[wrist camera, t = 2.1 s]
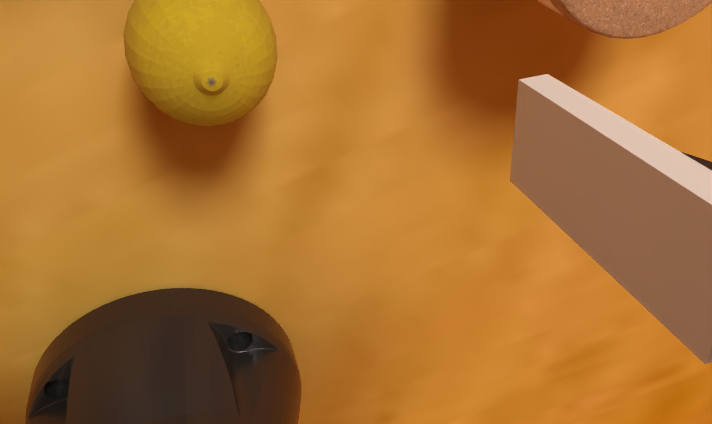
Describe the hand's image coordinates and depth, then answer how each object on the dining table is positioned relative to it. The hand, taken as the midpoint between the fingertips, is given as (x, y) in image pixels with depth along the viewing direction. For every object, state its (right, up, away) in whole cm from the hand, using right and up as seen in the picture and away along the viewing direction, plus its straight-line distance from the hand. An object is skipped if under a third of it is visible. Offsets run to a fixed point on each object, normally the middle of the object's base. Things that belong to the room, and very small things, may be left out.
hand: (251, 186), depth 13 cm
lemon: (-5, +8, +13) cm, 16 cm away
